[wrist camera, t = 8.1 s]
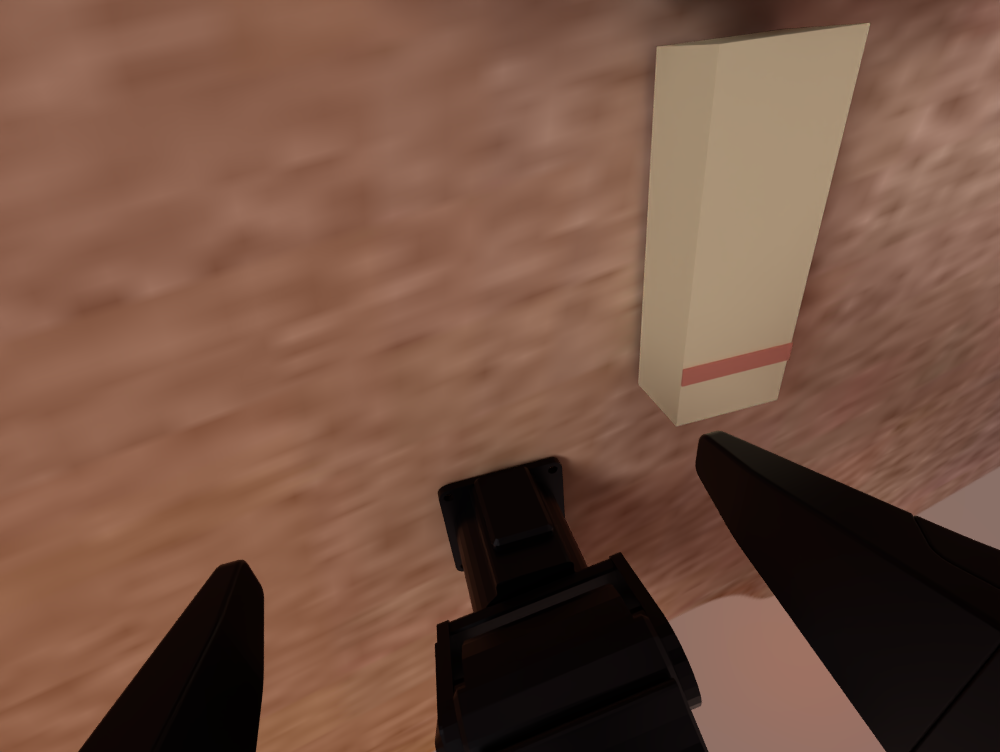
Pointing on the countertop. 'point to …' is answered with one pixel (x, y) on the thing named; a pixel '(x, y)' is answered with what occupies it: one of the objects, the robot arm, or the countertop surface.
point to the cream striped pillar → (737, 208)
